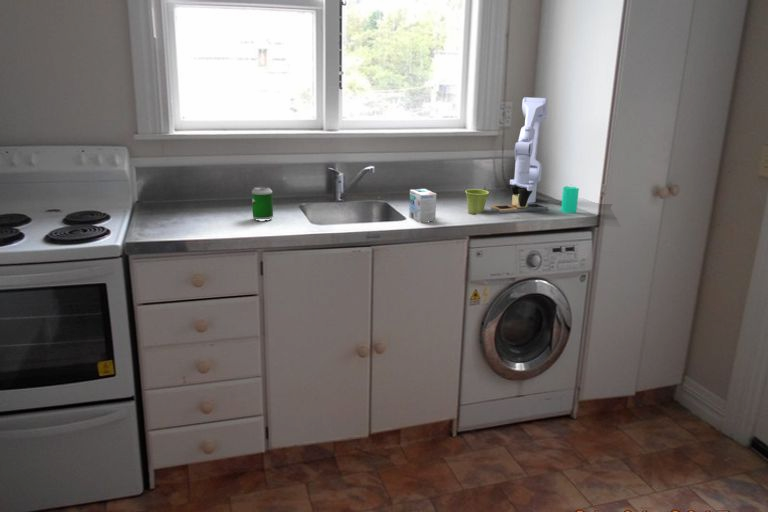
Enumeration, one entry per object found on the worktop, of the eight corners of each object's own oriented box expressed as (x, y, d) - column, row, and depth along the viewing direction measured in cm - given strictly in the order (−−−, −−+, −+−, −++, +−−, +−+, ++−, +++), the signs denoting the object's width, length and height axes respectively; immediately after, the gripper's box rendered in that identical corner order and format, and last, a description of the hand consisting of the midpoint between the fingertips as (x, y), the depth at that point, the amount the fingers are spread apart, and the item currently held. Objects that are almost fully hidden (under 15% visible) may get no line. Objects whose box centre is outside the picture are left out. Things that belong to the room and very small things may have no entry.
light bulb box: (408, 216, 256) (409, 189, 253) (424, 215, 259) (425, 188, 256) (419, 223, 247) (420, 194, 244) (436, 221, 249) (437, 193, 246)
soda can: (276, 218, 250) (275, 187, 247) (267, 222, 244) (266, 190, 240) (259, 216, 253) (258, 185, 249) (249, 220, 246) (247, 189, 242)
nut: (511, 208, 268) (512, 193, 266) (521, 208, 270) (522, 192, 268) (517, 211, 264) (518, 195, 262) (527, 210, 266) (528, 195, 264)
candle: (576, 215, 262) (579, 185, 259) (561, 214, 264) (564, 184, 260) (575, 212, 268) (578, 182, 264) (560, 211, 269) (563, 182, 266)
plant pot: (490, 211, 266) (491, 190, 264) (483, 216, 258) (485, 194, 256) (468, 209, 270) (469, 188, 268) (460, 214, 262) (461, 192, 259)
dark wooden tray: (490, 211, 267) (491, 205, 266) (537, 208, 274) (538, 202, 273) (499, 215, 260) (499, 209, 260) (547, 211, 268) (547, 206, 267)
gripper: (504, 169, 268) (501, 201, 272) (522, 175, 255) (520, 209, 259) (519, 168, 270) (517, 201, 274) (538, 174, 257) (535, 208, 261)
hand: (519, 205), depth 266 cm, fingers closed on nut, 4 cm apart
